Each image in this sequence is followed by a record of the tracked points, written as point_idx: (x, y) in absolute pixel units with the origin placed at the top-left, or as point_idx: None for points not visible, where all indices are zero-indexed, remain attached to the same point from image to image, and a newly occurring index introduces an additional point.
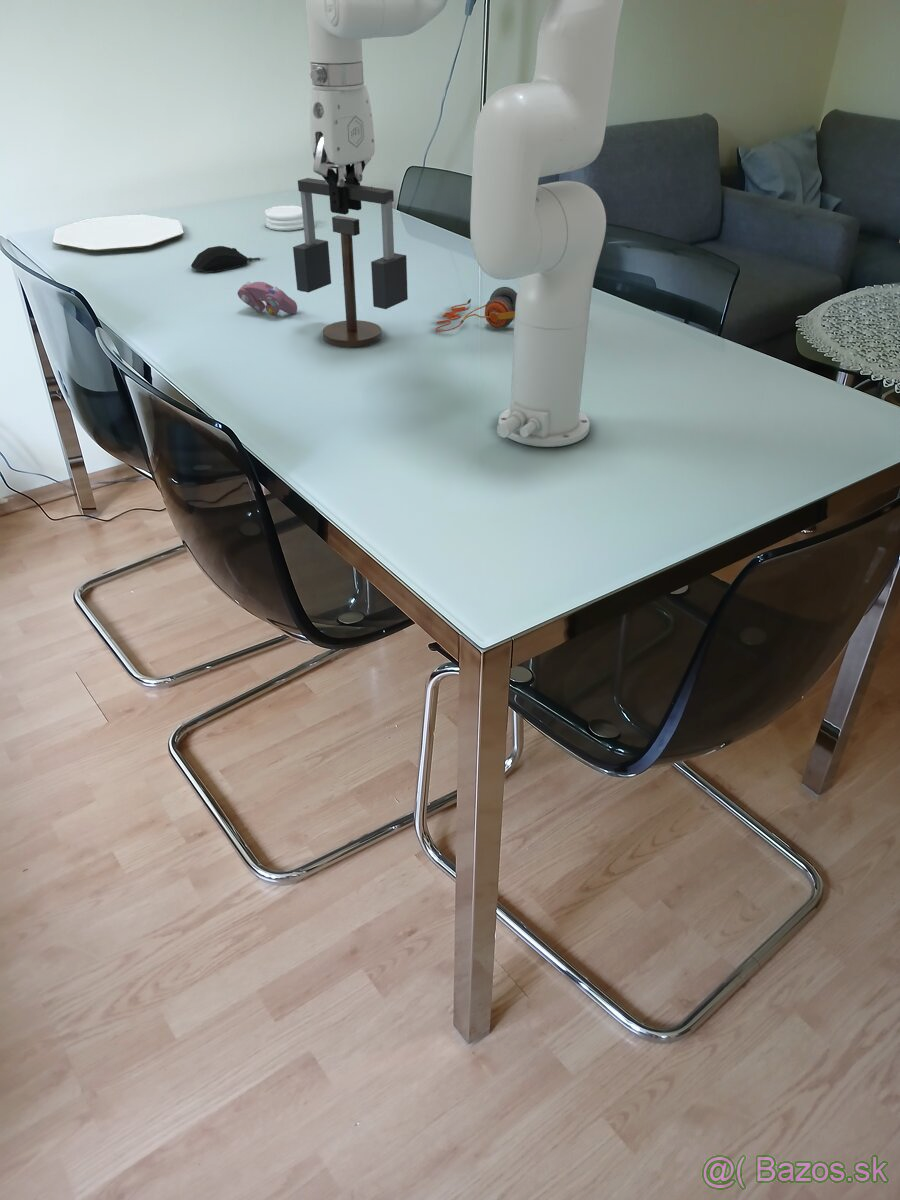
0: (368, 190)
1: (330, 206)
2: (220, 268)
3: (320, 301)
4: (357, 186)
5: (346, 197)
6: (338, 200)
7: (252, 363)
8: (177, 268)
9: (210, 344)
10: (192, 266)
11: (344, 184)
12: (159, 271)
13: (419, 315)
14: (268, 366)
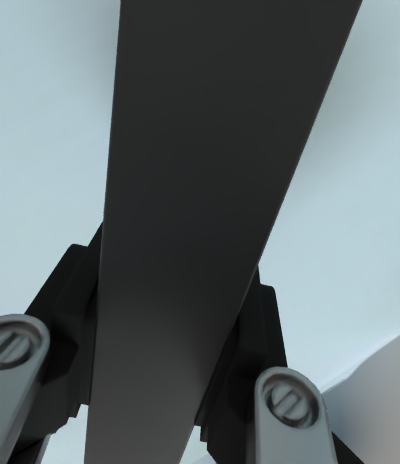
0: (307, 113)
1: None
2: None
3: (58, 248)
4: (149, 289)
5: (251, 290)
6: (277, 315)
7: (384, 223)
8: (60, 438)
9: (312, 308)
10: (56, 430)
11: (129, 382)
12: (82, 447)
13: (2, 15)
14: (396, 193)
